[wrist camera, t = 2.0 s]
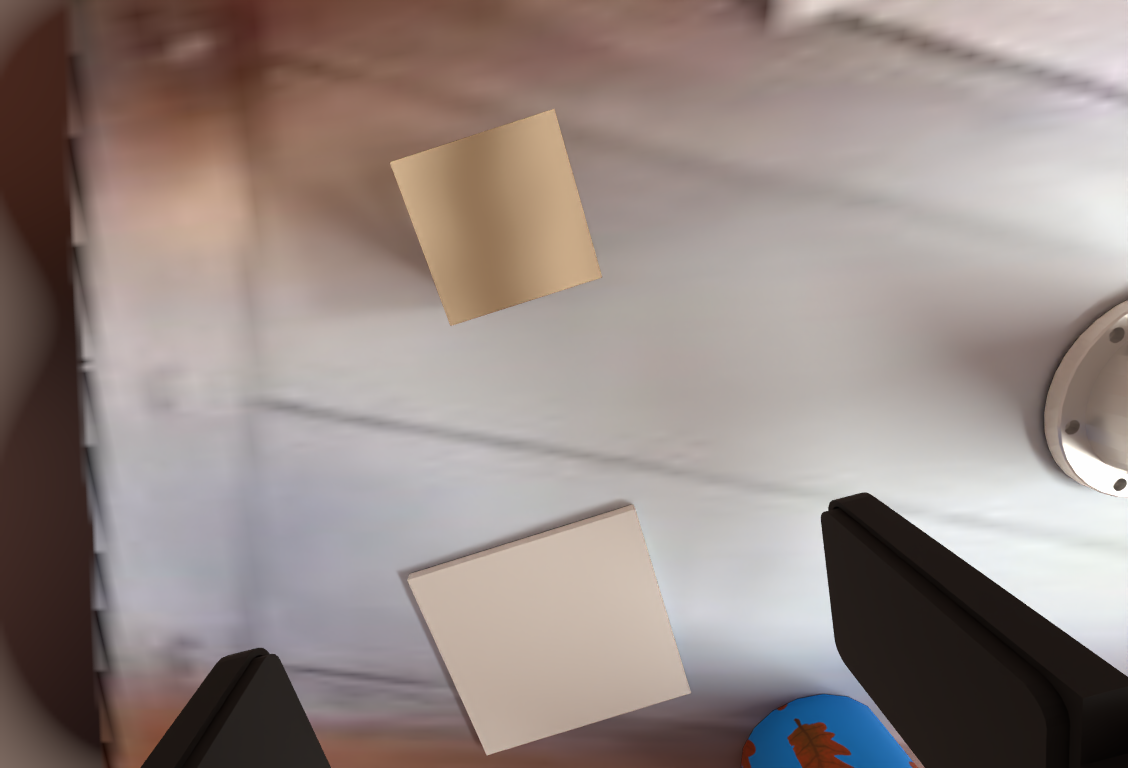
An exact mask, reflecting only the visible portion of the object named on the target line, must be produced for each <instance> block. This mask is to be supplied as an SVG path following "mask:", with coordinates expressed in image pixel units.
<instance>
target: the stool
mask: <svg viewBox="0 0 1128 768" xmlns="http://www.w3.org/2000/svg"><path fill="white" fill-rule="evenodd" d="M390 164H391V167H392V170H393V172H394V175H395V178H396V180H397V183H398V186H399V189H400V191H401V194H402V197H403V199H404V202H405V205H406V207H407V210H408V213H409V215H410V218H411V221H412V224H413V226H414V229H415V232H416V234H417V237H418V240H419V242H420V245H421V248H422V251H423V253H424V256H425V259H426V261H427V264H428V267H429V269H430V272H431V275H432V277H433V280H434V283H435V286H436V288H437V291H438V294H439V296H440V299H441V302H442V304H443V307H444V310H445V312H446V315H447V318H448V321H449V323H450V326H452V325H455V324H458V323H461V322H464V321H468V320H471V319H474V318H477V317H480V316H483V315H486V314H489V313H493V312H496V311H499V310H502V309H505V308H508V307H511V306H514V305H518V304H521V303H524V302H527V301H530V300H533V299H536V298H540V297H543V296H546V295H549V294H552V293H555V292H558V291H561V290H565V289H568V288H571V287H574V286H577V285H580V284H583V283H586V282H590V281H593V280H596V279H599V278H602V275H601V271H600V268H599V264H598V261H597V257H596V254H595V250H594V247H593V243H592V240H591V236H590V233H589V229H588V226H587V222H586V219H585V215H584V212H583V208H582V205H581V201H580V197H579V194H578V190H577V187H576V183H575V180H574V176H573V173H572V169H571V166H570V162H569V159H568V155H567V152H566V148H565V145H564V141H563V138H562V134H561V131H560V127H559V124H558V120H557V117H556V113H555V110H554V109H552V110H549V111H546V112H543V113H540V114H536V115H533V116H530V117H527V118H524V119H521V120H518V121H515V122H512V123H509V124H506V125H503V126H500V127H497V128H494V129H490V130H487V131H484V132H481V133H478V134H475V135H472V136H469V137H466V138H463V139H460V140H457V141H454V142H451V143H447V144H444V145H441V146H438V147H435V148H432V149H429V150H426V151H423V152H420V153H417V154H414V155H411V156H408V157H404V158H401V159H398V160H395V161H392V162H390Z"/></svg>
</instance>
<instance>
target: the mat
mask: <svg viewBox="0 0 1128 768" xmlns="http://www.w3.org/2000/svg"><path fill="white" fill-rule="evenodd" d="M407 581H408V583H409V585H410V588H411V590H412V592H413V594H414V596H415V599H416V601H417V603H418V605H419V607H420V610H421V612H422V614H423V616H424V618H425V621H426V623H427V625H428V627H429V629H430V631H431V634H432V636H433V638H434V640H435V642H436V645H437V647H438V649H439V651H440V653H441V656H442V658H443V660H444V662H445V664H446V667H447V669H448V671H449V673H450V675H451V678H452V680H453V682H454V684H455V686H456V689H457V691H458V693H459V695H460V697H461V700H462V702H463V704H464V706H465V708H466V711H467V713H468V715H469V717H470V719H471V722H472V724H473V726H474V728H475V730H476V733H477V735H478V737H479V739H480V741H481V744H482V746H483V748H484V750H485V752H486V755H490V754H493V753H496V752H499V751H503V750H506V749H509V748H513V747H516V746H519V745H522V744H526V743H529V742H532V741H536V740H539V739H542V738H545V737H549V736H552V735H555V734H559V733H562V732H565V731H568V730H572V729H575V728H578V727H582V726H585V725H588V724H591V723H595V722H598V721H601V720H604V719H608V718H611V717H614V716H618V715H621V714H624V713H627V712H631V711H634V710H637V709H641V708H644V707H647V706H650V705H654V704H657V703H660V702H664V701H667V700H670V699H673V698H677V697H680V696H683V695H687V694H690V693H691V691H690V688H689V685H688V681H687V678H686V675H685V672H684V668H683V665H682V662H681V658H680V655H679V652H678V648H677V645H676V642H675V639H674V635H673V632H672V629H671V625H670V622H669V619H668V616H667V612H666V609H665V606H664V602H663V599H662V596H661V592H660V589H659V586H658V583H657V579H656V576H655V573H654V569H653V566H652V563H651V559H650V556H649V553H648V550H647V546H646V543H645V540H644V536H643V533H642V530H641V526H640V523H639V520H638V517H637V513H636V510H635V507H634V505H629V506H626V507H623V508H620V509H617V510H613V511H610V512H607V513H604V514H601V515H597V516H594V517H591V518H588V519H584V520H581V521H578V522H575V523H572V524H568V525H565V526H562V527H559V528H556V529H552V530H549V531H546V532H543V533H540V534H536V535H533V536H530V537H527V538H524V539H520V540H517V541H514V542H511V543H507V544H504V545H501V546H498V547H495V548H491V549H488V550H485V551H482V552H479V553H475V554H472V555H469V556H466V557H463V558H459V559H456V560H453V561H450V562H447V563H443V564H440V565H437V566H434V567H430V568H427V569H424V570H421V571H418V572H414V573H411V574H409V577H408V579H407Z"/></svg>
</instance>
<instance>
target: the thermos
mask: <svg viewBox="0 0 1128 768" xmlns="http://www.w3.org/2000/svg"><path fill="white" fill-rule="evenodd" d="M741 768H918V767H917V766H916V765H915V763H914V762H913V761H912V760H911V758H910V757H909V756H908V755H907V754H906V752H905V751H904V750H903V749H902V747H901V746H900V745H899V744H898V743H897V741H896V740H895V739H894V738H893V736H892V735H891V734H890V733H889V732H888V730H887V729H886V728H885V727H884V725H883V724H882V723H881V722H880V721H879V719H878V718H877V717H876V716H875V715H874V713H873V712H872V711H871V710H870V709H869V707H868V706H866V705H864V704H862V703H860V702H858V701H856V700H853V699H851V698H849V697H846V696H837V695H828V694H821V695H815V696H810V697H805V698H799V699H796V700H794V701H792V702H790V703H788V704H786V705H784V706H782V707H780V708H778V709H776V710H774V711H772V712H771V713H770V714H769V715H768V716H767V717H766V718H765V719H764V720H762V721H761V722H760V723H759V724H758V725H757V726H756V727H755V728H754V729H753V731H752V733H751V735H750V736H749V738H748V740H747V742H746V744H745V745H744V747H743V753H742V761H741Z"/></svg>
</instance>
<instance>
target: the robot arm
mask: <svg viewBox="0 0 1128 768" xmlns="http://www.w3.org/2000/svg"><path fill="white" fill-rule="evenodd" d="M1044 417H1045V435H1046V439H1047V443H1048V448H1049V450H1050V452H1051V454H1052V456H1053V458H1054V460H1055V462H1056V463H1057V464H1058V465H1059V467H1060V468H1061V469H1062V470H1063V471H1064V472H1065V474H1067V475H1068V476H1069V477H1071V478H1072V479H1074V480H1075V481H1077V482H1078V483H1080V484H1082V485H1084V486H1087V487H1089V488H1091V489H1094V490H1096V491H1098V492H1100V493H1104V494H1107V495H1111V496H1115V497H1128V300H1127V301H1125V302H1123V303H1121V304H1119V305H1117V306H1115V307H1114V308H1112V309H1111V310H1110V311H1108V312H1107V313H1105V314H1104V315H1103V316H1101V317H1100V318H1098V319H1097V320H1096V321H1095V322H1094V323H1093V324H1092V325H1091V326H1090V327H1089V328H1088V329H1087V330H1086V331H1085V332H1083V333H1082V334H1081V335H1080V336H1079V338H1078V339H1077V340H1076V342H1075V343H1074V344H1073V345H1072V347H1071V348H1070V349H1069V351H1068V352H1067V353H1066V355H1065V356H1064V358H1063V360H1062V362H1061V364H1060V365H1059V367H1058V369H1057V371H1056V372H1055V375H1054V378H1053V380H1052V383H1051V386H1050V388H1049V391H1048V395H1047V401H1046V406H1045V411H1044ZM821 525H822V534H823V542H824V551H825V560H826V568H827V577H828V586H829V594H830V603H831V612H832V620H833V629H834V638H835V643H836V647H837V650H838V652H839V654H840V656H841V658H842V660H843V662H844V663H845V665H846V666H847V667H848V669H849V670H850V671H851V673H852V674H853V675H854V676H855V678H856V679H857V680H858V682H859V683H860V684H861V686H862V687H863V688H864V689H865V691H866V692H867V693H868V695H869V696H870V697H871V698H872V700H873V701H874V702H875V704H876V705H877V706H878V707H879V709H880V710H881V711H882V713H883V714H884V715H885V717H886V718H887V719H888V720H889V722H890V723H891V724H892V726H893V727H894V728H895V729H896V731H897V732H898V733H899V735H900V736H901V737H902V738H903V740H904V741H905V742H906V744H907V745H908V746H909V747H910V749H911V750H912V751H913V753H914V754H915V755H916V757H917V758H918V759H919V760H920V762H921V763H922V764H923V766H924V767H925V768H1128V677H1127V676H1126V675H1124V674H1123V673H1121V672H1120V671H1119V670H1117V669H1116V668H1114V667H1113V666H1112V665H1110V664H1109V663H1107V662H1106V661H1105V660H1103V659H1102V658H1100V657H1099V656H1098V655H1096V654H1095V653H1093V652H1092V651H1091V650H1089V649H1088V648H1086V647H1085V646H1083V645H1082V644H1081V643H1079V642H1078V641H1076V640H1075V639H1074V638H1072V637H1071V636H1069V635H1068V634H1067V633H1065V632H1064V631H1062V630H1061V629H1060V628H1058V627H1057V626H1055V625H1054V624H1053V623H1051V622H1050V621H1048V620H1047V619H1045V618H1044V617H1043V616H1041V615H1040V614H1038V613H1037V612H1036V611H1034V610H1033V609H1031V608H1030V607H1029V606H1027V605H1026V604H1024V603H1023V602H1022V601H1020V600H1019V599H1017V598H1016V597H1015V596H1013V595H1012V594H1010V593H1009V592H1007V591H1006V590H1005V589H1003V588H1002V587H1000V586H999V585H998V584H996V583H995V582H993V581H992V580H991V579H989V578H988V577H986V576H985V575H984V574H982V573H981V572H979V571H978V570H977V569H975V568H974V567H972V566H971V565H969V564H968V563H967V562H965V561H964V560H962V559H961V558H960V557H958V556H957V555H955V554H954V553H953V552H951V551H950V550H948V549H947V548H946V547H944V546H943V545H941V544H940V543H939V542H937V541H936V540H934V539H933V538H931V537H930V536H929V535H927V534H926V533H924V532H923V531H922V530H920V529H919V528H917V527H916V526H915V525H913V524H912V523H910V522H909V521H908V520H906V519H905V518H903V517H902V516H901V515H899V514H898V513H896V512H895V511H893V510H892V509H891V508H889V507H888V506H886V505H885V504H884V503H882V502H881V501H879V500H878V499H877V498H875V497H874V496H872V495H871V494H869V493H859V494H855V495H852V496H848V497H844V498H840V499H836V500H832V501H831V502H830V504H829V507H828V511H826V512H823V513H822V515H821ZM141 768H331V767H330V765H329V762H328V760H327V758H326V756H325V754H324V752H323V750H322V748H321V745H320V743H319V741H318V739H317V737H316V735H315V733H314V731H313V728H312V726H311V724H310V722H309V720H308V718H307V716H306V714H305V712H304V709H303V707H302V705H301V703H300V701H299V699H298V697H297V695H296V692H295V690H294V688H293V686H292V684H291V682H290V680H289V678H288V675H287V673H286V671H285V669H284V667H283V665H282V663H281V661H280V659H279V657H278V656H276V655H275V654H269V652H268V651H267V650H265V649H264V648H256V649H252V650H248V651H244V652H240V653H236V654H232V655H228V656H225V657H223V658H221V659H220V660H219V661H218V662H217V663H216V665H215V666H214V668H213V669H212V670H211V672H210V673H209V674H208V676H207V677H206V679H205V680H204V681H203V683H202V684H201V685H200V687H199V688H198V690H197V691H196V692H195V694H194V695H193V696H192V698H191V699H190V700H189V702H188V703H187V705H186V706H185V707H184V709H183V710H182V711H181V713H180V714H179V716H178V717H177V718H176V720H175V721H174V722H173V724H172V725H171V727H170V728H169V729H168V731H167V732H166V733H165V735H164V736H163V738H162V739H161V740H160V742H159V743H158V744H157V746H156V747H155V749H154V750H153V751H152V753H151V754H150V755H149V757H148V758H147V760H146V761H145V762H144V764H143V765H142V766H141Z"/></svg>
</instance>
